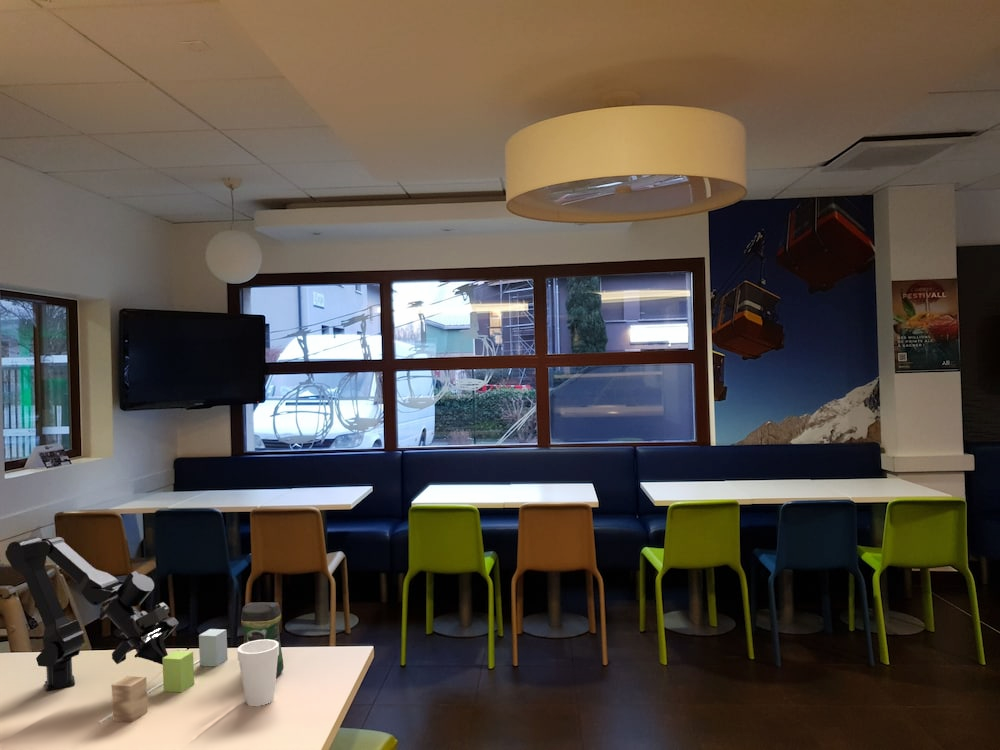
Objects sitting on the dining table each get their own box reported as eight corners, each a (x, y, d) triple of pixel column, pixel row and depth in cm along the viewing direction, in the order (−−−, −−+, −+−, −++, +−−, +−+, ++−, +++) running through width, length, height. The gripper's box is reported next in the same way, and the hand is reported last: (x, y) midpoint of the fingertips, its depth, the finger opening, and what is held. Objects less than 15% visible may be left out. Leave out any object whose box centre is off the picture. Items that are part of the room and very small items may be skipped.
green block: (163, 690, 188) (162, 658, 187) (176, 682, 192) (175, 650, 192) (181, 692, 186) (180, 659, 186) (194, 683, 191) (193, 651, 191)
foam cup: (268, 710, 177) (266, 654, 177) (231, 708, 179) (229, 653, 179) (287, 693, 186) (285, 640, 186) (252, 691, 188) (250, 638, 188)
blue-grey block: (199, 665, 203) (198, 635, 203) (211, 658, 208) (209, 628, 208) (216, 666, 202) (215, 636, 202) (227, 659, 207) (226, 629, 207)
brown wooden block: (113, 720, 172) (111, 685, 172) (128, 710, 177) (127, 676, 177) (132, 722, 171) (130, 686, 171) (147, 712, 176) (146, 677, 176)
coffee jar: (287, 668, 202) (284, 598, 202) (275, 680, 195) (272, 607, 194) (252, 668, 203) (249, 598, 203) (239, 680, 196) (236, 607, 195)
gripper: (119, 608, 182) (162, 656, 180) (170, 585, 200) (210, 629, 198) (93, 640, 184) (135, 688, 181) (145, 614, 202) (184, 658, 200)
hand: (168, 664), depth 190 cm, fingers closed, pressing on green block
